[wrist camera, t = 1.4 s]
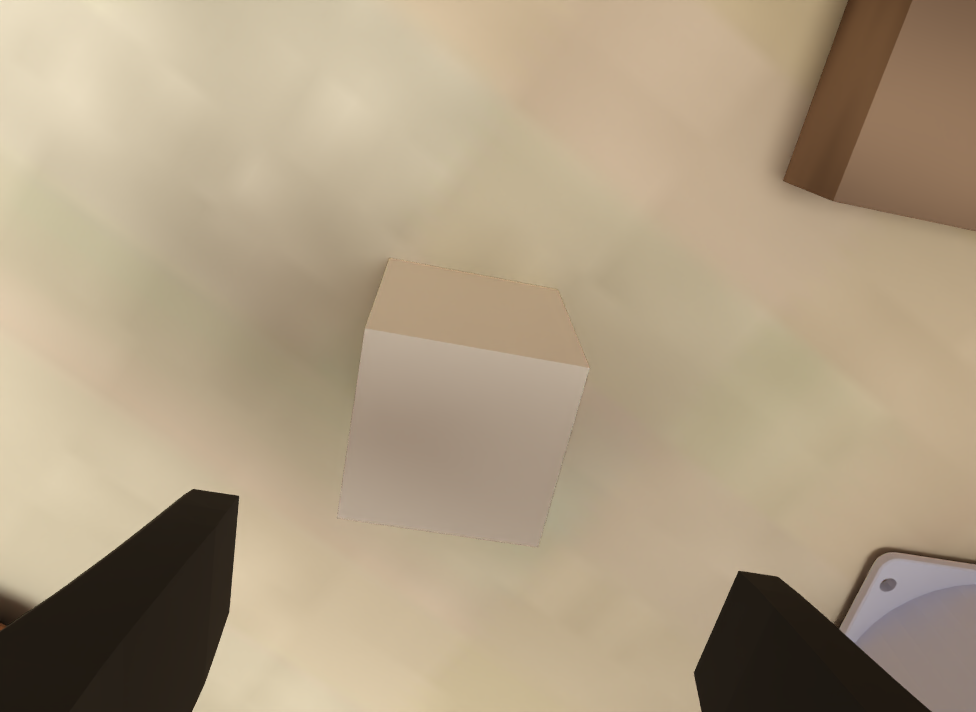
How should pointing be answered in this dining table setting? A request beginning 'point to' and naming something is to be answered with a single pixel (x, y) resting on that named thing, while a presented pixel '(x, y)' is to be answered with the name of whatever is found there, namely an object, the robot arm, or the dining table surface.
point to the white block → (461, 405)
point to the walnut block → (896, 112)
